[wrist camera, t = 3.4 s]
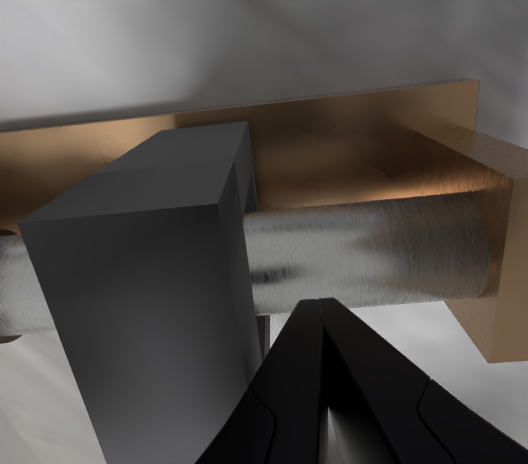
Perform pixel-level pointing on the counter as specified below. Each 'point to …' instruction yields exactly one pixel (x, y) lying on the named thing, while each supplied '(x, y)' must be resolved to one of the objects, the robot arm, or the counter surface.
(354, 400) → the robot arm
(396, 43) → the counter surface
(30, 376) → the counter surface
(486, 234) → the pipe rig
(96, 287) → the collar
